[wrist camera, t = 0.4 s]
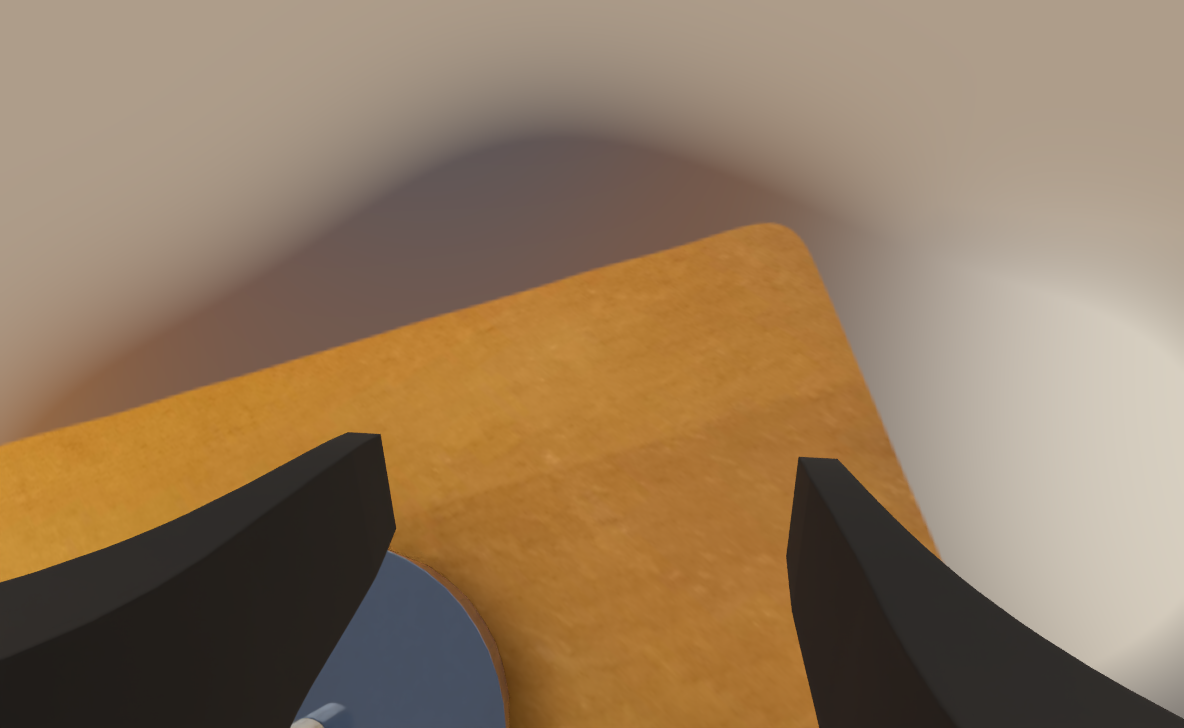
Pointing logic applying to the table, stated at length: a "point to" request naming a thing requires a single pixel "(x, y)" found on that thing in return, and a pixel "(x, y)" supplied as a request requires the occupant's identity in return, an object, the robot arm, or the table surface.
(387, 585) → the lid
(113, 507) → the table surface
